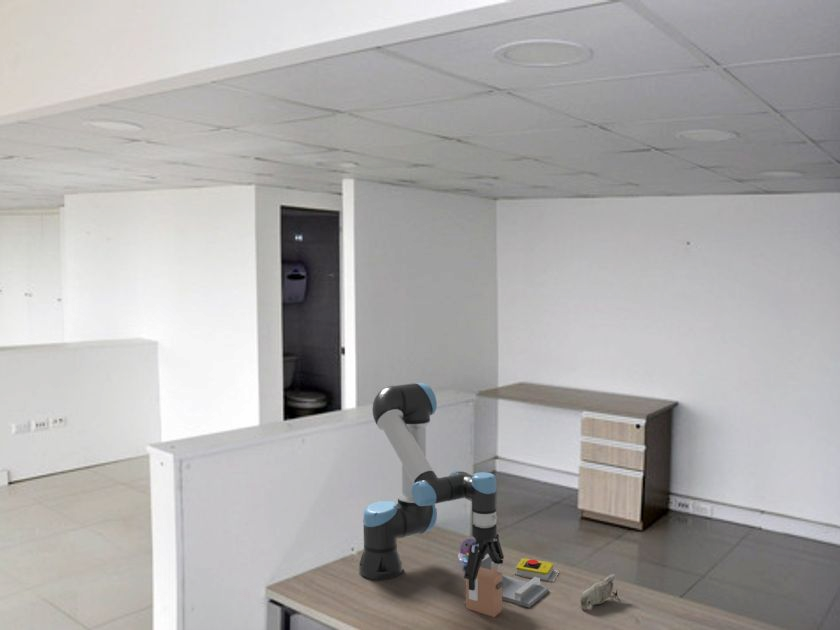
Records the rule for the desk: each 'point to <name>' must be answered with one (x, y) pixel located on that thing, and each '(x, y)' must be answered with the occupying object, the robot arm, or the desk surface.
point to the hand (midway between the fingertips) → (484, 591)
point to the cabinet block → (486, 593)
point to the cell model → (465, 550)
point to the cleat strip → (527, 589)
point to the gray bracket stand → (515, 587)
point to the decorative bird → (598, 592)
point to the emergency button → (536, 569)
